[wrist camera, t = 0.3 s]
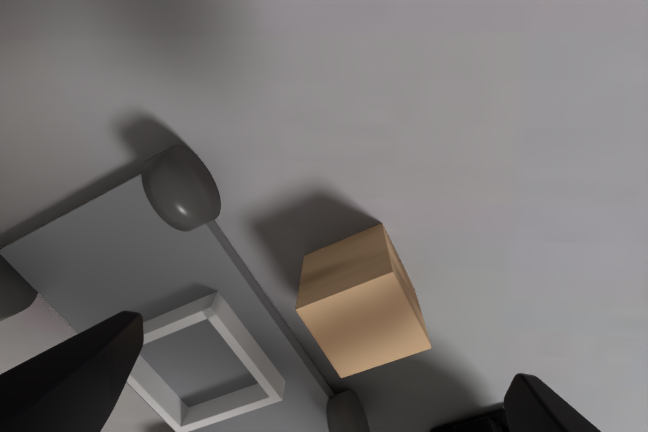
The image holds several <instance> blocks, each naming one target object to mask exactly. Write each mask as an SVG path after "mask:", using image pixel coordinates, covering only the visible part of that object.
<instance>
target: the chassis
mask: <svg viewBox="0 0 648 432" xmlns="http://www.w3.org/2000/svg"><path fill="white" fill-rule="evenodd" d="M220 210H221V201H220V195H219V191H218V188H217V186H216V183H215V181H214V179H213V177H212V175H211V174H210V172H209V170H208V169H207V167H206V166H205V165H204V163H203V162H202V161H201V160H200V159H199V158H198V157H197V156H196V155H195V154H194V153H193V152H191V151H190V150H188V149H187V148H185V147H182V146H172V147H170V148H169V149H167V150H165V151H163V152H161V153H159V154H158V155H156V156H154V157H152V158H150V159H148V160H147V161H146V162H145V163H144V165H143V167H142V172H141V173H140V174H138V175H136V176H134V177H132V178H130V179H128V180H127V181H125V182H123V183H121V184H119V185H117V186H115V187H114V188H112V189H110V190H108V191H106V192H104V193H102V194H100V195H99V196H97V197H95V198H93V199H91V200H89V201H87V202H86V203H84V204H82V205H80V206H78V207H76V208H74V209H73V210H71V211H69V212H67V213H65V214H63V215H61V216H59V217H58V218H56V219H54V220H52V221H50V222H48V223H46V224H45V225H43V226H41V227H39V228H37V229H35V230H33V231H32V232H30V233H28V234H26V235H24V236H22V237H20V238H18V239H17V240H15V241H13V242H11V243H9V244H8V245H6V246H5V247H3V248H0V321H2V320H4V319H6V318H8V317H10V316H13V315H15V314H17V313H19V312H21V311H23V310H25V309H26V308H28V307H29V306H30V305H31V304H32V303H33V301H34V300H35V298H36V297H37V294H38V293H39V294H40V295H41V296H42V297H43V298H44V299H45V300H46V301H47V302H48V303H49V304H50V305H51V306H52V307H53V308H54V309H55V310H56V311H57V312H58V313H59V314H60V315H61V316H62V317H63V318H64V319H65V320H66V321H67V322H68V323H69V324H70V326H71V327H72V328H73V329H74V330H75V331H76V332H77V333H78V334H79V333H81V332H83V331H85V330H86V329H88V328H90V327H92V326H94V325H96V324H98V323H100V322H102V321H104V320H106V319H108V318H109V317H111V316H113V315H115V314H117V313H119V312H121V311H124V310H127V311H133V312H139V313H141V314H142V316H143V330H144V343H143V347H142V350H141V352H140V354H139V356H138V358H137V360H136V363H135V365H134V367H133V369H132V371H131V373H130V375H129V377H128V379H127V383H128V384H129V386H130V387H131V388H132V389H133V390H134V391H135V392H136V393H137V394H138V395H139V396H140V397H141V398H142V399H143V400H144V401H145V402H146V403H147V404H148V405H149V406H150V407H151V408H152V409H153V410H154V411H155V412H156V413H157V414H158V415H159V416H160V417H161V418H162V419H163V420H164V421H165V422H166V423H167V424H168V425H169V426H170V427H171V428H172V429H173V430H174V431H175V432H369V426H368V422H367V418H366V415H365V412H364V409H363V407H362V404H361V402H360V400H359V398H358V397H357V395H356V394H355V393H354V392H353V391H352V390H348V391H345V392H342V393H339V394H336V395H335V394H334V393H333V391H332V390H331V389H330V387H329V386H328V384H327V383H326V381H325V380H324V378H323V377H322V375H321V374H320V373H319V371H318V370H317V368H316V367H315V365H314V364H313V362H312V361H311V360H310V358H309V357H308V355H307V354H306V352H305V351H304V349H303V348H302V347H301V345H300V344H299V342H298V341H297V339H296V338H295V336H294V335H293V333H292V332H291V331H290V329H289V328H288V326H287V325H286V323H285V322H284V320H283V319H282V318H281V316H280V315H279V313H278V312H277V310H276V309H275V307H274V306H273V304H272V303H271V302H270V300H269V299H268V297H267V296H266V294H265V293H264V291H263V290H262V289H261V287H260V286H259V284H258V283H257V281H256V280H255V278H254V277H253V276H252V274H251V273H250V271H249V270H248V268H247V267H246V265H245V264H244V262H243V261H242V260H241V258H240V257H239V255H238V254H237V252H236V251H235V249H234V248H233V247H232V245H231V244H230V242H229V241H228V239H227V238H226V236H225V235H224V233H223V232H222V231H221V229H220V228H219V226H218V225H217V223H216V222H215V220H214V219H216V218H217V217H218V216H219V214H220Z"/></svg>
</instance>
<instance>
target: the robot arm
mask: <svg viewBox="0 0 648 432" xmlns="http://www.w3.org/2000/svg"><path fill="white" fill-rule="evenodd" d="M143 343H144V330H143V316H142V314H141V313H139V312H133V311H127V310H124V311H121V312H119V313H117V314H115V315H113V316H111V317H109V318H108V319H106V320H104V321H102V322H100V323H98V324H96V325H94V326H92V327H90V328H88V329H86V330H85V331H83V332H81V333H79V334H77V335H75V336H73V337H71V338H69V339H67V340H65V341H64V342H62V343H60V344H58V345H56V346H54V347H52V348H50V349H48V350H46V351H44V352H42V353H41V354H39V355H37V356H35V357H33V358H31V359H29V360H27V361H25V362H23V363H21V364H19V365H18V366H16V367H14V368H12V369H10V370H8V371H6V372H4V373H2V374H0V432H100V431H101V430H102V428H103V426H104V425H105V423H106V421H107V419H108V418H109V416H110V414H111V412H112V411H113V409H114V407H115V405H116V403H117V401H118V399H119V396H120V394H121V392H122V390H123V388H124V386H125V384H126V382H127V379H128V377H129V375H130V373H131V371H132V369H133V367H134V365H135V363H136V360H137V358H138V356H139V354H140V352H141V350H142V347H143ZM430 432H601V431H600V430H598V429H597V428H596V427H595V426H594V425H593V424H591V423H590V422H589V421H588V420H587V419H586V418H584V417H583V416H582V415H581V414H580V413H579V412H577V411H576V410H575V409H574V408H573V407H572V406H570V405H569V404H568V403H567V402H566V401H565V400H563V399H562V398H561V397H560V396H559V395H558V394H556V393H555V392H554V391H553V390H552V389H551V388H549V387H548V386H547V385H546V384H545V383H544V382H542V381H541V380H540V379H539V378H538V377H536V376H534V375H529V374H522V373H519V374H517V375H515V377H514V378H513V380H512V382H511V385H510V387H509V389H508V391H507V393H506V395H505V397H504V409H501V410H498V411H494V412H491V413H487V414H484V415H480V416H477V417H473V418H470V419H466V420H463V421H459V422H456V423H452V424H449V425H445V426H441V427H438V428H434V429H432V430H431V431H430Z"/></svg>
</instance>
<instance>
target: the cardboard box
mask: <svg viewBox="0 0 648 432" xmlns="http://www.w3.org/2000/svg"><path fill="white" fill-rule="evenodd" d="M296 311H297V313H298V314H299V316H300V317H301V319H302V320H303V322H304V323H305V325H306V326H307V328H308V329H309V331H310V332H311V334H312V335H313V337H314V338H315V340H316V341H317V343H318V344H319V346H320V347H321V349H322V350H323V352H324V353H325V355H326V356H327V358H328V359H329V361H330V362H331V364H332V365H333V367H334V368H335V370H336V371H337V373H338V374H339V376H340V377H341V378H344V377H347V376H350V375H353V374H356V373H359V372H362V371H365V370H368V369H371V368H374V367H377V366H380V365H383V364H386V363H389V362H392V361H395V360H398V359H401V358H404V357H407V356H410V355H413V354H416V353H419V352H422V351H425V350H428V349H431V348H432V347H431V343H430V340H429V336H428V333H427V330H426V326H425V323H424V319H423V316H422V313H421V309H420V306H419V302H418V299H417V296H416V292H415V289H414V287H413V285H412V283H411V281H410V279H409V277H408V274H407V272H406V270H405V268H404V266H403V264H402V262H401V260H400V258H399V256H398V254H397V252H396V250H395V248H394V246H393V244H392V242H391V240H390V238H389V236H388V234H387V232H386V230H385V228H384V226H383V224H382V223H380V224H378V225H376V226H373V227H371V228H369V229H366V230H364V231H361V232H359V233H357V234H354V235H352V236H350V237H347V238H345V239H343V240H340V241H338V242H335V243H333V244H331V245H328V246H326V247H324V248H321V249H319V250H317V251H314V252H312V253H309V254H307V255H305V256H304V260H303V266H302V272H301V278H300V285H299V291H298V297H297V303H296Z"/></svg>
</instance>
